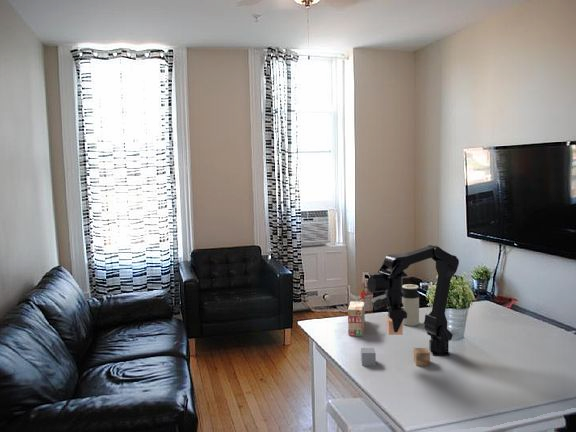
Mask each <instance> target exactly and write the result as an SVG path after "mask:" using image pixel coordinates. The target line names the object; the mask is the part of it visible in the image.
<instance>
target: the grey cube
mask: <svg viewBox="0 0 576 432" xmlns="http://www.w3.org/2000/svg"><path fill="white" fill-rule="evenodd" d="M376 358H377V357H376V350H375V347H360V361H361V366H365V367H366V366H368V367H370V366H371V367H372V366H374V367H376V364H377V363H376V362H377V361H376Z"/></svg>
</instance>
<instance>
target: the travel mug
mask: <svg viewBox="0 0 576 432" xmlns="http://www.w3.org/2000/svg"><path fill="white" fill-rule="evenodd" d="M418 290H419V285H417V284H411V283H408V284H402V292H403V296H402V303H403V307H401V308H404V309H405V310H406V312H407V318H406V319H404V320H403V321H402V325H403V326H408V327H416V326H418V325H419V324H420V292H419V291H418Z"/></svg>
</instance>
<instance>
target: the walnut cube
mask: <svg viewBox="0 0 576 432" xmlns="http://www.w3.org/2000/svg"><path fill="white" fill-rule="evenodd" d="M413 361H414V363H415V366H416V367H417V366H418V367H419V366H420V367H423V366H425V367H427V366H428V367H430V366H431V352H430V350H429V348H428V347H413Z"/></svg>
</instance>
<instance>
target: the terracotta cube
mask: <svg viewBox="0 0 576 432" xmlns="http://www.w3.org/2000/svg"><path fill="white" fill-rule="evenodd" d="M386 331H387V334H388V335H389V336H392V335H393V336H394V335H395V336H396V335H398V336H399V335H400V336H402V335H404V334H403V324H402V323H401V325H400V328H399V330H398V332H394V328H393V323H392V319H391V318H389V316H388V317H386Z"/></svg>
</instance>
